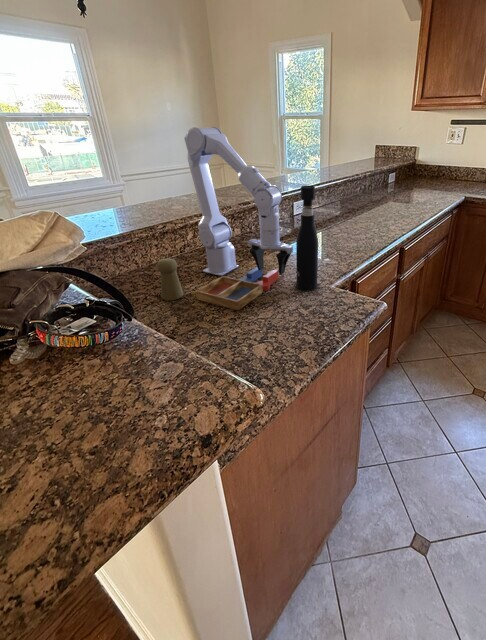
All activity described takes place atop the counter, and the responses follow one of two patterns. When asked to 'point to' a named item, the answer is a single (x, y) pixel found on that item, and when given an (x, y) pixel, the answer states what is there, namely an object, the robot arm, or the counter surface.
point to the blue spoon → (252, 275)
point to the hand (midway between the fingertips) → (271, 271)
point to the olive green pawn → (169, 280)
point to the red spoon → (268, 279)
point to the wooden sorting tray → (229, 292)
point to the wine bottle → (307, 244)
